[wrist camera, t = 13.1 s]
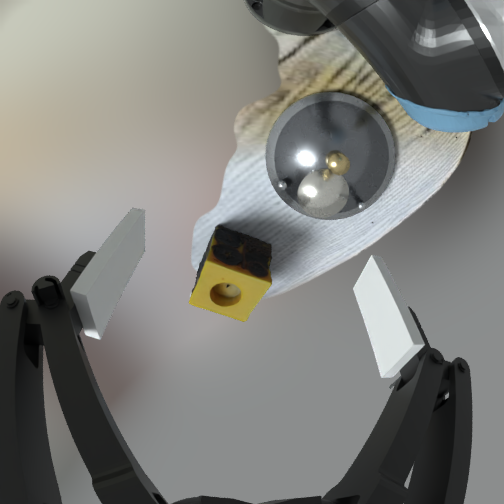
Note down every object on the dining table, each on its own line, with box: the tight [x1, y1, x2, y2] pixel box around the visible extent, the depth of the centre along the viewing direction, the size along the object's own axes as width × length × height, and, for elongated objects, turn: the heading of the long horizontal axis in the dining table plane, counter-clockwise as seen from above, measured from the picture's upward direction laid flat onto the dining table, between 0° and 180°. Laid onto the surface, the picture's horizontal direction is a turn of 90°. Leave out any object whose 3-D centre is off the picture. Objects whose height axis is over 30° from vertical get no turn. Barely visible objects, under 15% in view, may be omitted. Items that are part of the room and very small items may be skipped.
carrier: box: [266, 92, 395, 220], centre depth 36 cm, size 20×20×4 cm
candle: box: [189, 225, 272, 322], centre depth 44 cm, size 10×10×10 cm
